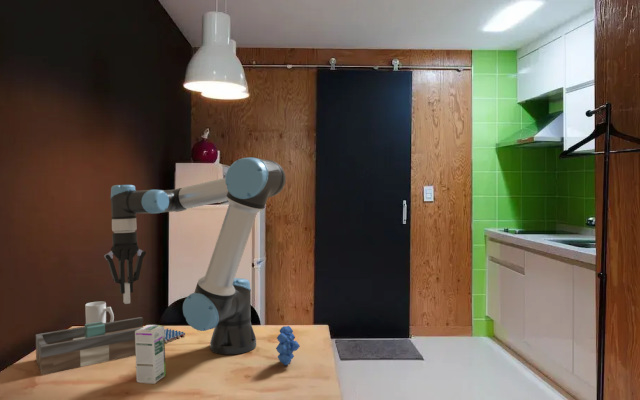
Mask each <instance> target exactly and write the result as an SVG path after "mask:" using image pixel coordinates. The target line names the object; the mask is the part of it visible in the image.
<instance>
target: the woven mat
mask: <svg viewBox="0 0 640 400" xmlns="http://www.w3.org/2000/svg"><path fill="white" fill-rule="evenodd" d="M164 335H165V344H168V343H171V342H173V340H174V341H175V340H176V339H177V338H179V339H183V338H185V336H186V332H184V331H178V330H175V329H171V328H170V329H169V328H164ZM181 336H182V337H181ZM180 337H181V338H180Z"/></svg>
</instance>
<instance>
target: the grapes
mask: <svg viewBox="0 0 640 400" xmlns="http://www.w3.org/2000/svg"><path fill="white" fill-rule="evenodd" d="M293 332H294V330H293V329H292V327H291V326H289V325H284V326H282V327H281V328H280V329H279V334H278V336H276V339H277V341H278V342H279V343H278V345H277V346H276V348H275V349H276V351H277V353H278V356H277V359H278V360H279V362H280V363H281V364H282V365H284V366H288V365H289V364H290V363H291V362H292V360H293V359H294V357H295V355H294V352H295V351H298V350H299V348H300V346H301V345H300V344H299V342H298V341H297V340H295V338H296V336H295V334H294V333H293Z"/></svg>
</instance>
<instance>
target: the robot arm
mask: <svg viewBox="0 0 640 400" xmlns="http://www.w3.org/2000/svg"><path fill="white" fill-rule="evenodd" d="M286 181H287V178H286V172H285V170H284V168H283V167H282V166H281V165H280V164H279V163H278V162H276V161H275V160H271V159H264V158H259V157H258V158H257V157H243V158H240V159H237V160H235V161H233V163H232V164H231V165H230V166H229V168H228V169H227V170H226V173H225V177H223V178H218V179H214V180H209V181H206V182H202V183H196V184H191V185H188V186H184V187H180V188H175V189H165V190H164V189H146V190H145V189H142V190H137V189H136V186H135V185H133V184H116V185H112V186H111V188H110V197H109V198H110V207H111V208H110V209H111V230H112V232H113V233H112V234H111V239H112V240H111V241H112V246H111V248H110V250H111V251H109V252H107V253H105V254H104V255H103V257H104V258H105V260H106V261H107V264H108V268H109V272H110V274H111V277H112V280H113V282H114V283H116V284H119V293H120V294H122V297H123V303H124V304H125V305H127V304H131V293H133V292H134V283H135V282H136V281H138V280H139V279H140V276H141V275H140V274H141V270H142V266H143V260H144V258H145V256H146V254H147V251H145V250H142V249H140V247H139V245H138V233H137V232H136V231H137V223H138V222H137V214H151V215H154V214H160V213H161V214H162V213H169V212H171V213H172V212H174V213H178V212H183V211H186V210H188V209H192V208H193V209H194V208H198V207H203V206H206V205H211V204H217V203H222V202H226V201H228V203H229V204H228V206H227V207H228V208H227V210H226V213H225V216H224V217H223V218H224V219H223V223H222V225H221V228H220V230H219V234H218V237H217V239H216V242H215V245H214V248H213V251H212V255H211V257H210V261H209V264H208V267H207V270H206V272H205V275H204V276H202V277H199V278H198V280H197V284H196V286H195V288H194V289H195V290H194V291H193V292H192V293H191V294H190V293H189V295H188V296H187V297H185V299H184V301H183V303H182V313H183V317H184V318H185V321H186V323H187V325H189V326H190V327H191V328H192V329H194V330H196V331H198V332H199V331H200V332H206V331H209V330H213V332H212V335H211V338H210V342H209V344H210V345H209V347H210V351H211V352H213V353H215V354H218V355H240V354H244V353H249V352H251V351H252V350H254V349H256V347H257V337H256V335H255V331H254V329H253V326H252V322H251V320H252V317H251V315H252V314H251V311H252V309H251V307H252V306H251V303H252V301H251V297H252V296H251V292H252V290H251V289H252V288H251V282H250V280H249V279H246V278H242V277H241V278H240V277H239V278H238V277H236V275H237V273H238V269H239V266H240V263H241V261H242V258H243V256H244V252H245V250H246V246H247V243H248V240H249V238H250V235H251V232H252V229H253V227H254V224H255V221H256V218H257V215H258V213H259V212H261V211H263V210H264V209H265V207H266V205H267V201H268V198H272V197H275V196H277V195H278V194H280V193H281V192H282V190H283V189H284V187H285V185H286V183H287V182H286ZM113 255H114V256H113ZM136 255H137V257H136V262H135V267H134V268H133V265H134V264H133V262H134V258H135V256H136ZM114 257H115V258H116V259H117V260H118V272H117V270H116V265H115V262H114V260H113V258H114ZM125 260H126V261H125ZM125 262H126V273H125ZM125 275H127V282H126V276H125Z"/></svg>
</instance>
